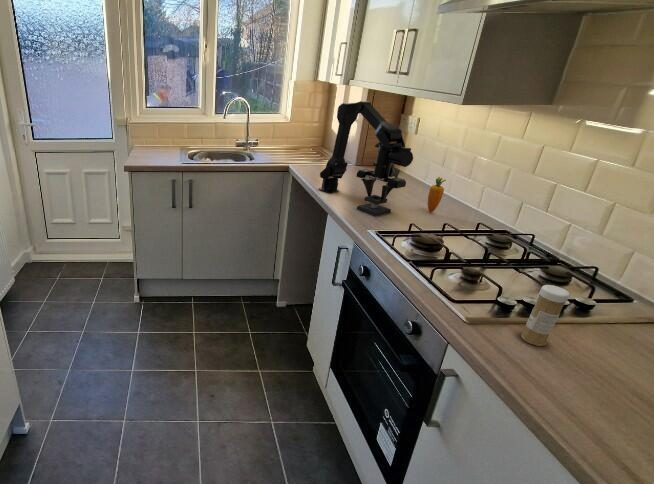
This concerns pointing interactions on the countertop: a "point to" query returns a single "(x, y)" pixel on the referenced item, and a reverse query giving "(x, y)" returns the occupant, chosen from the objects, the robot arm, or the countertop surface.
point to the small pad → (375, 199)
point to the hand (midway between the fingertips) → (375, 198)
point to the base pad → (373, 209)
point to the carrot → (435, 195)
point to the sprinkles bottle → (544, 314)
